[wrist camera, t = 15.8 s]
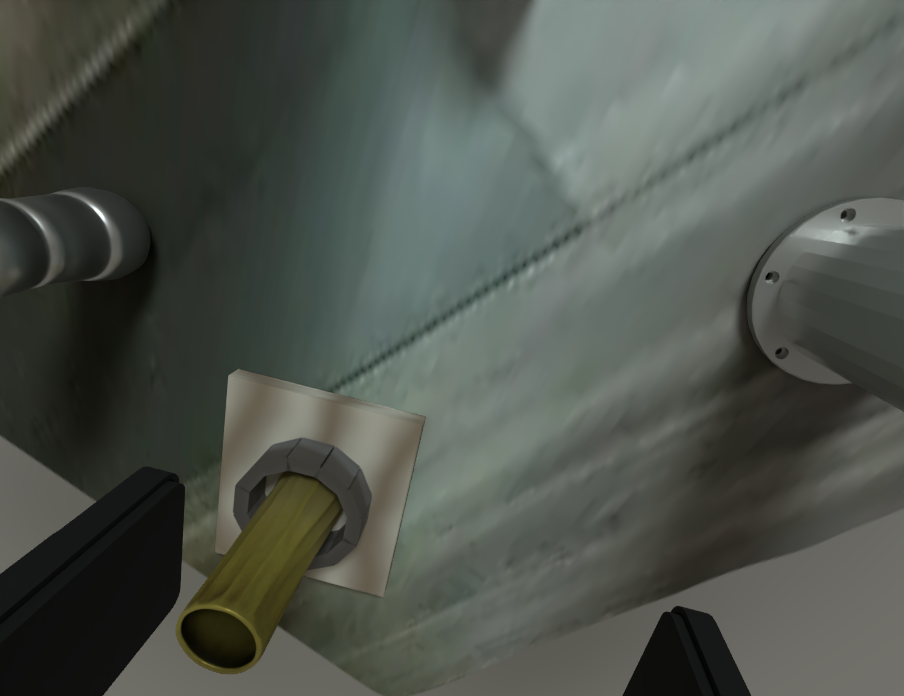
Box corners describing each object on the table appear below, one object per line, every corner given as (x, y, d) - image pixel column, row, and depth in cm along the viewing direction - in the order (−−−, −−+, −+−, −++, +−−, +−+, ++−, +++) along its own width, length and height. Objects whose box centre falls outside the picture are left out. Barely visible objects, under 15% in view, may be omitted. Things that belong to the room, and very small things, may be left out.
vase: (310, 534, 43) (219, 694, 29) (263, 484, 42) (146, 626, 28) (361, 502, 41) (290, 655, 28) (313, 449, 40) (215, 582, 27)
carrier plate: (425, 416, 40) (415, 444, 35) (387, 584, 46) (374, 625, 41) (238, 369, 40) (206, 390, 36) (224, 541, 46) (195, 576, 42)
